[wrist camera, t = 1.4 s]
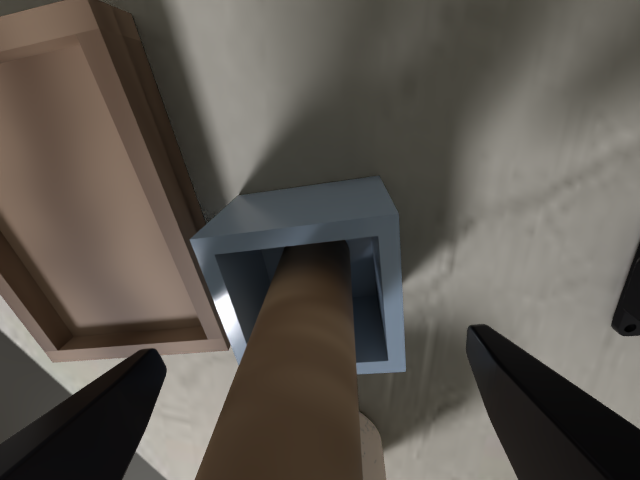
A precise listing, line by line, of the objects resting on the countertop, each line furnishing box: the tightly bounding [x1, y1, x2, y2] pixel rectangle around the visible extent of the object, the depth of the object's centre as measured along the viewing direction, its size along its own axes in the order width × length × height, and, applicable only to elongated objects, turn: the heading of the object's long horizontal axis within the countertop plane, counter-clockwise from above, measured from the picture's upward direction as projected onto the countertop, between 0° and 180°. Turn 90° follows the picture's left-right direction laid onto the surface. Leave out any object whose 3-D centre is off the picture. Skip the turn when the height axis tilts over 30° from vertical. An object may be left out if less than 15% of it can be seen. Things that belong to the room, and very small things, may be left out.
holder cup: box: [189, 176, 406, 374], centre depth 12 cm, size 6×6×4 cm
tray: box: [0, 0, 231, 363], centre depth 13 cm, size 10×14×2 cm
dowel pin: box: [195, 240, 363, 480], centre depth 9 cm, size 3×3×10 cm
